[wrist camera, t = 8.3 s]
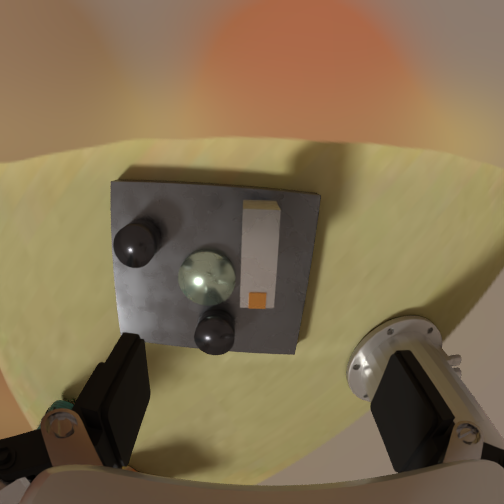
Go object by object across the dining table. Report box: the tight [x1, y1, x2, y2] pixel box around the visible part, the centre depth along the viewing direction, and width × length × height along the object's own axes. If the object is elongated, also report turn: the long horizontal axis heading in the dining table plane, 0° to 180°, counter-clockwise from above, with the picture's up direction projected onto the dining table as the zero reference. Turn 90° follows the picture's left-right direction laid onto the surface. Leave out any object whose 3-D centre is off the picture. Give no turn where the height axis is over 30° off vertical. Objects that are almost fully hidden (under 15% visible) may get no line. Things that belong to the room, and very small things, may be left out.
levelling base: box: [111, 180, 321, 355], centre depth 27 cm, size 18×16×4 cm
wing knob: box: [240, 200, 281, 309], centre depth 24 cm, size 7×2×6 cm, turn 178°
